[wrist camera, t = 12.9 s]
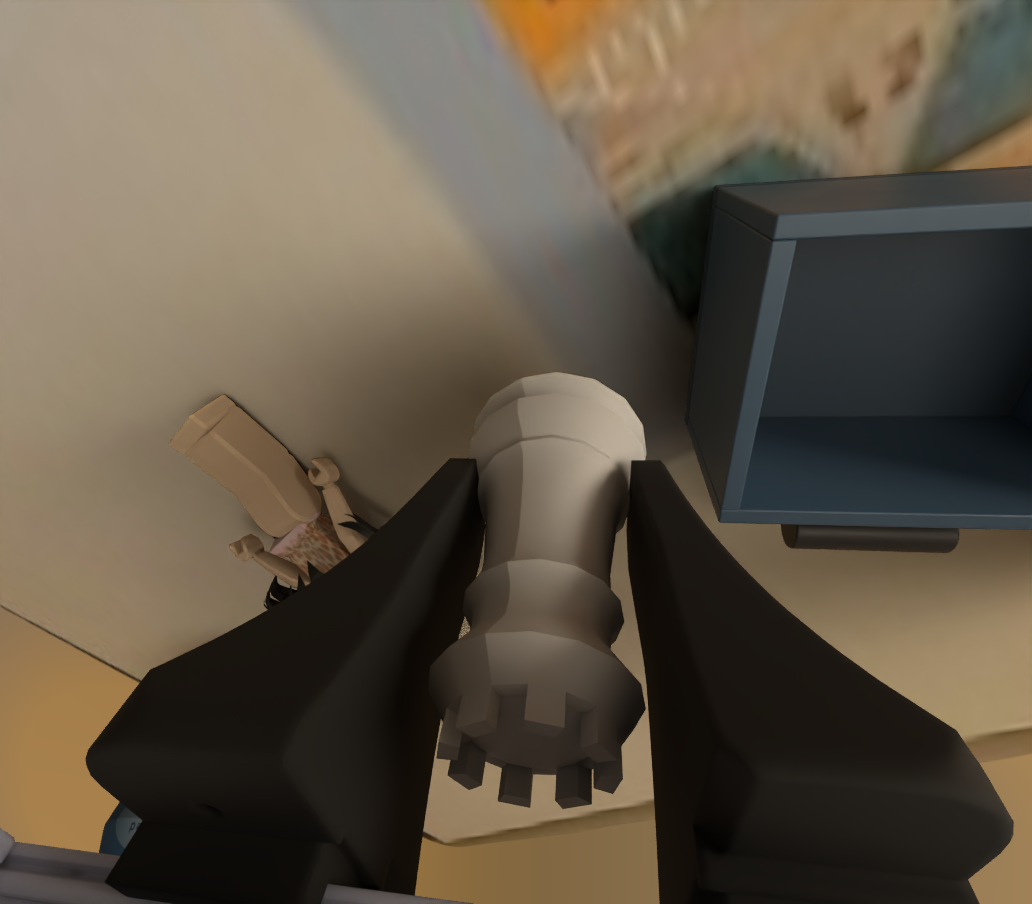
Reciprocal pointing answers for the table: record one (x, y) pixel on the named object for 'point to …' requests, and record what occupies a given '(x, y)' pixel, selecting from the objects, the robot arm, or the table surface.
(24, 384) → the table surface
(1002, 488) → the basket
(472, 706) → the rook chess piece
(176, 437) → the toy figure
